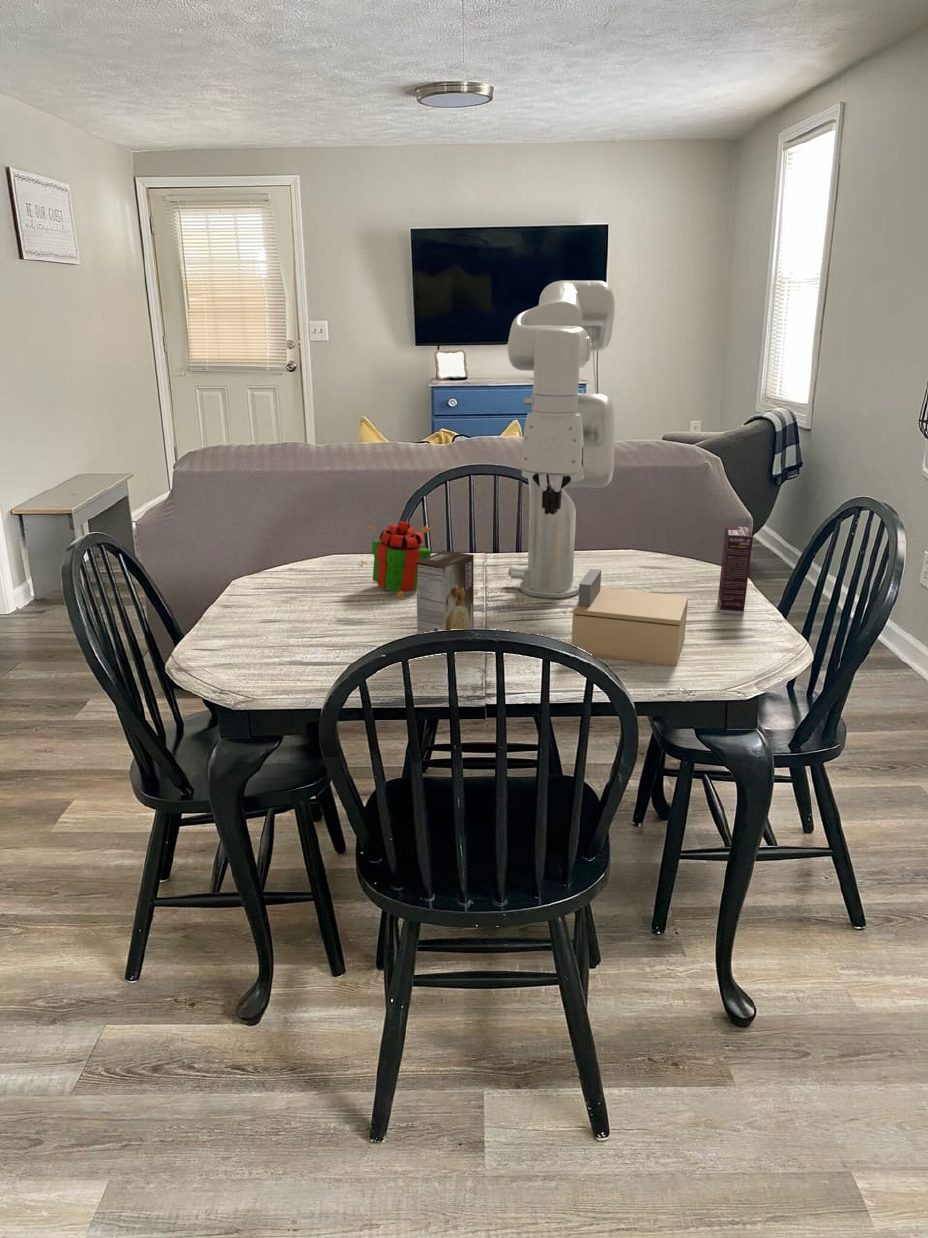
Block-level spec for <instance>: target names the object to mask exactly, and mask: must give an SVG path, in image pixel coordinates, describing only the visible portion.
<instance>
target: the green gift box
mask: <svg viewBox="0 0 928 1238" xmlns="http://www.w3.org/2000/svg"><path fill="white" fill-rule="evenodd" d="M367 528H369V532H370V531H372V529H373V531H372V532H373V533H374V532H375V527H372V526H370V525H368V526H367ZM421 530H422V532H420V531H415V529H414V528H413V527H411V523H410V522H404V521H399V523H398V525H395V524H390V525H389V526H387V527H386V528H385V529H384V530H383V531H382V532H381V533H380V535H379V539H378V540H377V539H375V540H374V539H373V540H372V544H371V545H372V547H371V554H372V555H373V556H374V557H373V568H372V569H373V570H372V580H373V582H375V583H376V584H377V585H378V586H379V587H381V588H383V589H387V590H389V591H390V592H394V591H398V592H397V593H396V597H398V598H399V599H403V598H404V595H405V594H404V592H413V591H414V590H417V587H416V562H417V561H419V560H422V559H424V558H427V557H429V556H432V550H431V549H429V548H426V546H425V545H423V542H424V535H423V534H425V533H426V534H429V531H430V530H431V528H430V527H428V525H425V526H424V527H422V528H421ZM363 563H364V564H365V565H368V562H366V561H364V560H361V564H360V563H357V565H358V566H359V567H361V568H363V566H364V565H363ZM401 594H402V596H401Z"/></svg>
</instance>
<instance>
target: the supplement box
mask: <svg viewBox="0 0 928 1238" xmlns="http://www.w3.org/2000/svg"><path fill="white" fill-rule="evenodd" d="M724 528H725V529H724V538H723V548H722V556H721V557H722V558H721V568H720V576H719V587H718V597H717V603H718V610H719V614H721V615H729V614H730V615H733V616H744V614H745V606H746V597H747V590H748V587H747V586H748V581H749V574H750V573H749V572H750V564H751V557H752V556H751V555H752V547H753V539H754V537H753V534H752V532H751V529H750V527H748V526H738V525H733V526H732V525H726V526H725V527H724Z"/></svg>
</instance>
